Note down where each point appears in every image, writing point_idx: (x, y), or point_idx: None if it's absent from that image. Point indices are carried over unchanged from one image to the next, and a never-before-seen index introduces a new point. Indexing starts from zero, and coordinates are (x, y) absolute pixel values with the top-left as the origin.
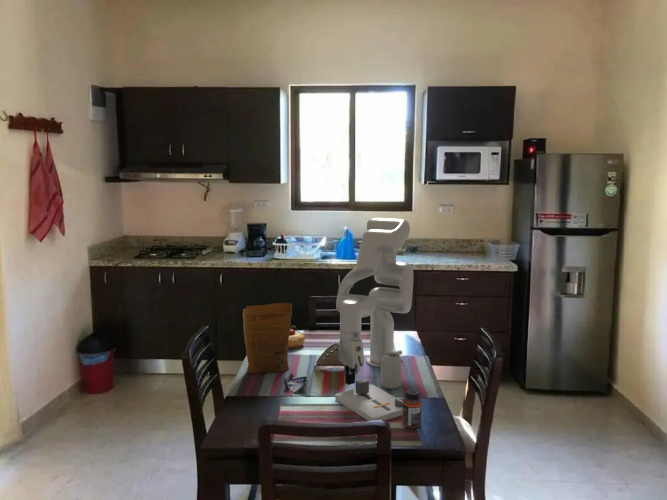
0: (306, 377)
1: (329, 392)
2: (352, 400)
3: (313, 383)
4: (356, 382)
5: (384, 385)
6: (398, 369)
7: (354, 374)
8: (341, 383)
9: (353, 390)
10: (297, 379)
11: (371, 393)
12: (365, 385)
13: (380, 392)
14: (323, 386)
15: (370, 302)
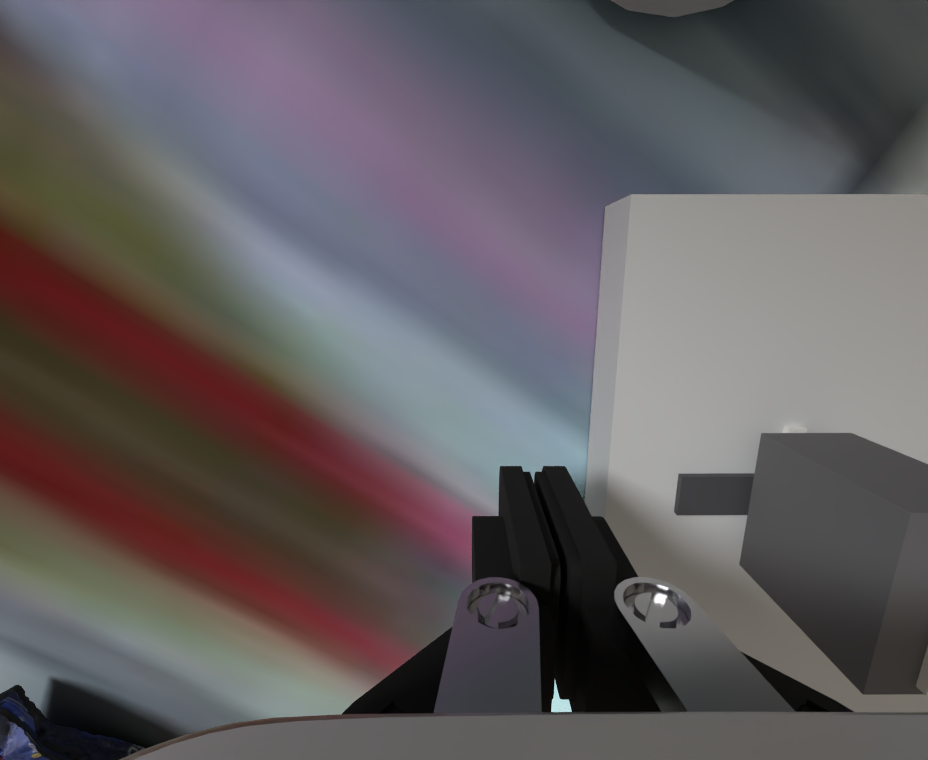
0: (42, 747)
1: (407, 627)
2: (826, 660)
3: (133, 643)
4: (881, 690)
5: (710, 3)
6: None
7: (603, 554)
8: (260, 413)
9: (634, 519)
10: (7, 754)
11: (850, 392)
12: None
13: (915, 270)
14: (247, 603)
15: None
